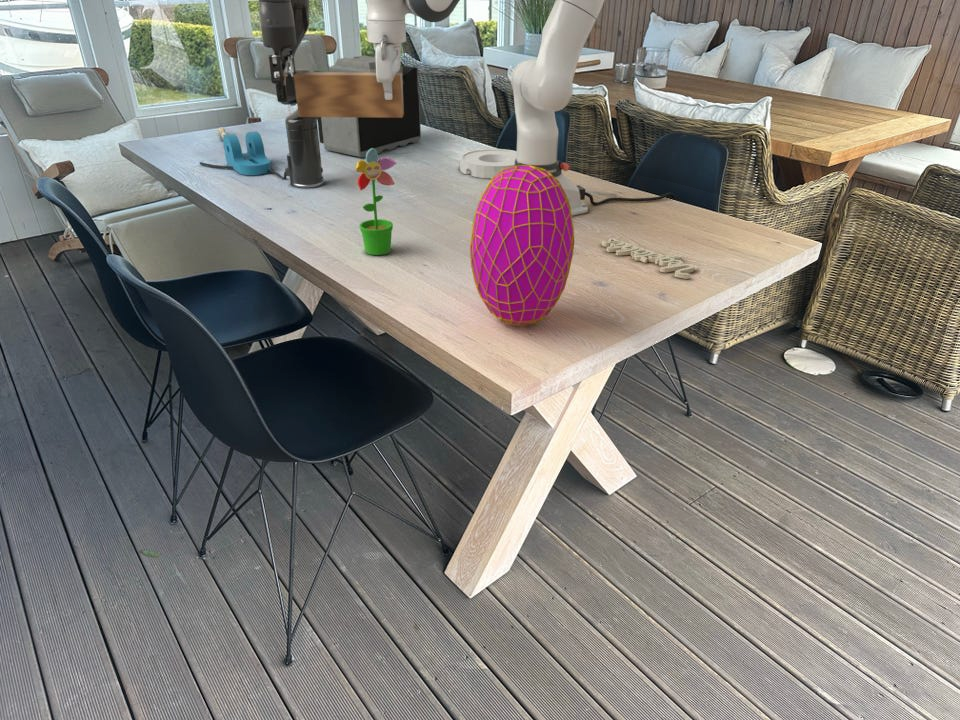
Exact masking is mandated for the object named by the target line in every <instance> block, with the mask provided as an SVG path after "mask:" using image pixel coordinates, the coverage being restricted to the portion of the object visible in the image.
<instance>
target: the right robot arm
mask: <svg viewBox="0 0 960 720" xmlns="http://www.w3.org/2000/svg"><path fill="white" fill-rule="evenodd" d="M460 1H461V0H365V3H366V4H365V5H366V17H365V21H366V34H367V36H366V37H367V42H368V43H370V44H373V50H374V51H375V54H374V55H375V56H374V57H376V77H377V81H378V82H379V83H383V88H384V94H385V99H386V100H392V98H393V91H392V82H393V80H394V78H395V76H396V74H397V73H398V72H399V70H400V65H401V63H402V62H401V61H402V43H407V29H406V15H409V14H411V15H414V16H416V17H418V18H420V19H421V20H423V21H425V22H428V23H439V22H442V21H444V20H446V19H447V18H448V17H450V15H451V14H452V13H453V12H454V10H455V9H456V8H457V5H458V4H459V3H460ZM604 2H605V0H555V2H554V4H553V6H552V8H551V11H550V12H549V15H548V17H547V19H546V21H545V24H544V26H543V28H542V32H541V42H540V47H539V51H538V54H537V58H531V59H526V60H523V61H520V62H519V63H518V64H517V65H516V66H515V67H514V68H513V69H512V72H511V76H510V85H511V88H512V92H513V103H514V104H513V105H514V114H515V120H516V121H515V122H516V151H517V157H516V159H515V166H516V165H532V166H536V167H539V168H542V169H545V170H547V171H549V172H550V173H551V174H552V175H553V176H554V177H555V178H556V179H557V180H558V181H559V182H560V184H561V186H562V188H563V189H564V191H565V193H566V195H567V198H568V201H569V204H570V207H571V213H572V217H573V216H578V215H581V214H586V213H588V211H589V207H588V205H587V204H586V203H585V202H583V201H584V200H585V199H586V197H587V198H588V199H589V202H590V204H591V205H593V206H600V205H603V204H606V203H608V202H609V203H610V202H653V201H659V200H663V199H665V198H667V197H671V198H673V199H676V198H677V196H676V195H675V194H674V193H673V192H666V193H664V194H662V195H660V196H653V197H642V198H641V197H636V198H635V197H608V198H605V199H602V200H601V201H599V202H598V201H597V202H596V201H594V197H593V195H592V194H591V193H589V192H586V191H587V190H586V188H584V187H583V186H582V185H579V184H578V185H576V184H575V183H574V182H573V181H571V180H570V179H569V178H568V177H567V176H565V175H564V174H563V173H562V172H568V171H569V169H570V165H569V163H567V162H561V161H560V160H558V146H559V128H558V124H557V119H556V113H555V112H559V111H561V110H563V109H564V108H566V107H567V106H568V104H569V103H570V102H571V100H572V97H573V94H574V86H573V83H574V77H575V75H576V70H577V67H578V63H579V60H580V56H581V53H582V51H583V48H584V47H585V44H586V42H587V40H588V38H589V36H590V34H591V32H592V29H593V27H594V25H595V23H596V22H597V19H598V17H599V16H600V15H599V14H600V12H601V11H602V8H603V6H604V4H605V3H604Z"/></svg>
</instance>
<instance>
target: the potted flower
mask: <svg viewBox="0 0 960 720" xmlns="http://www.w3.org/2000/svg"><path fill="white" fill-rule="evenodd" d="M395 165H397V162H396V161H395V160H394V159H393V158H391V157H388V156H385V157H381V158H379V153H377V151H376V149H374V148H371V149H370V150H369V151H368V152H367V153H366V157H365V160H364V159H360V160H358V161H357V163H356V165H355V172H357V173H361V174H360V175H359V176H358V178H357V186H358V188H359V190H360V191H362V190H365V189H366V188H367V187H368V185H369V184H370V183H371V191H372V203H366V204H364V205H363V206H362V208H363V210H364V211H366V212H369V213H370V212H373V216H374V217H373V218H374V219H368V220H365V221H362V222H360V223H359V230H360V232H361V236H362V241H363V246H364V251H365V253H366V254H368V255H372V256H381V255H382V256H383V255H387V254H389V253H390V252H391V249H392V231H393V227H394V224H393V222H392V221H390V220H387V219H379V218H378V211H377V203H379V202H380V201H382V200H383V198H384V196H383V195H381V194H380V195H378V194H377V195H376V181H377V182H378V183H379V184H380V185H383V186H388V187H389V186H394V185H395V184H396V182H395V181H394V179H393V177H392V176H391V175H390V174H389V173H388V172H386V171H387V170H389V169H391V168H392V167H394V166H395Z"/></svg>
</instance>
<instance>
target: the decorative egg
mask: <svg viewBox="0 0 960 720" xmlns="http://www.w3.org/2000/svg"><path fill="white" fill-rule="evenodd" d="M573 221H574V220H573V216H572V213H571V207H570V204H569V201H568V198H567V195H566V193H565V191H564V189H563V188H562V186H561V184H560V182H559V181H558V180H557V179H556V178H555V177H554V176H553V175H552V174H551V173H550V172H549V171H547V170H545V169H542V168H539V167H536V166H532V165H516V166H513V167H509V168H506V169H503V170H501V171H500V172H499V173H497V174H496V175H495V176H494V177H493V178H492V179H491V178H490V181H489V182H488V184H487V186H486V187H485V189H484V191H483V192H482V194H481V196H480V199H479V202H478V205H477V206H476V209H475V212H474V217H473V222H472V229H471V236H470V245H469V251H470V252H469V253H470V255H469V256H470V267H471V272H472V276H473V280H474V284H475V287H476V290H477V292H478V294H479V298H480V299H481V300H482V302H483V303H484V305H485V307H486V308H487V310H488V312H489V313H490V314H491V315H492V316H494V317H495V318H496V319H498V320H500V321H501V322H503V323H505V324H508V325H512V326H528V325H532V324H535V323H538V322H539V321H542V319H544V318H546V317H547V316H548V315H549V314H550V313H551V311H552V310H553V309H554V307H555V306H556V304H557V303H558V301H559V300H560V298H561V297H562V294H563V292H564V290H565V288H566V286H567V282H568V278H569V274H570V271H571V265H572V261H573V256H574V250H575V242H576V241H575V229H574V222H573Z"/></svg>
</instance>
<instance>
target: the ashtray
mask: <svg viewBox="0 0 960 720" xmlns="http://www.w3.org/2000/svg"><path fill="white" fill-rule="evenodd" d="M516 157H517V150H513V149H505V148H478V149H472V150H468V151H465V152H462V153H461V154H460V156H459V171H460V173H462V174H464V175H470V176H472V177H475V178H479V179H480V178H481V179H490V180H491V179H492V178H493V177H494V176H495V175H496V174H497V173H499V172H500V171H501V170H503V169H506V168H509V167H513V166H515V159H516Z"/></svg>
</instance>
